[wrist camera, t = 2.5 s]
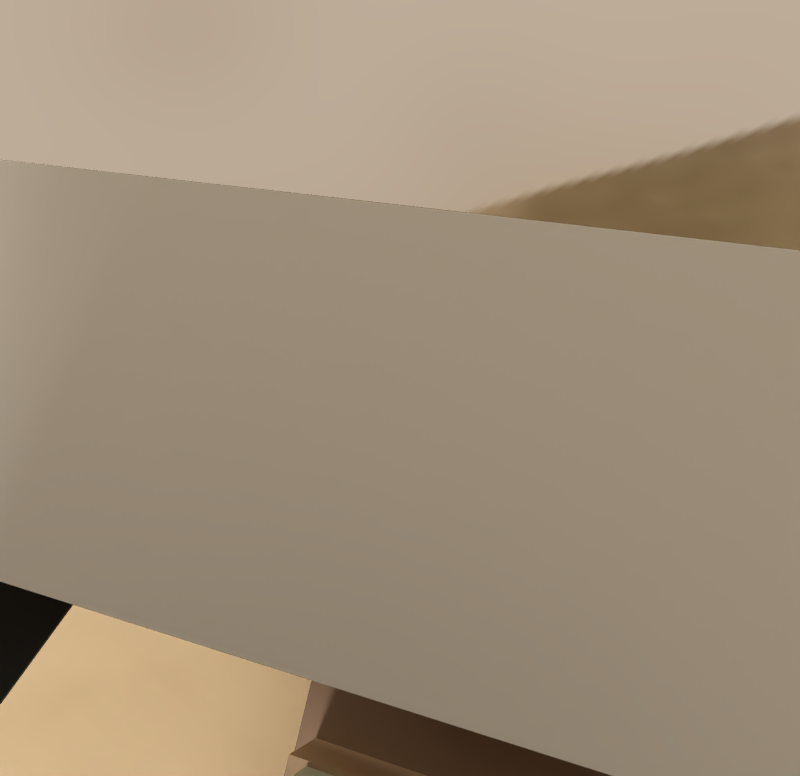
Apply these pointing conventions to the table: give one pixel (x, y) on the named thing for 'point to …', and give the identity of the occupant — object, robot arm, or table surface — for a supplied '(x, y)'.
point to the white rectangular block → (417, 456)
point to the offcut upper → (310, 772)
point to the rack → (419, 739)
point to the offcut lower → (340, 761)
